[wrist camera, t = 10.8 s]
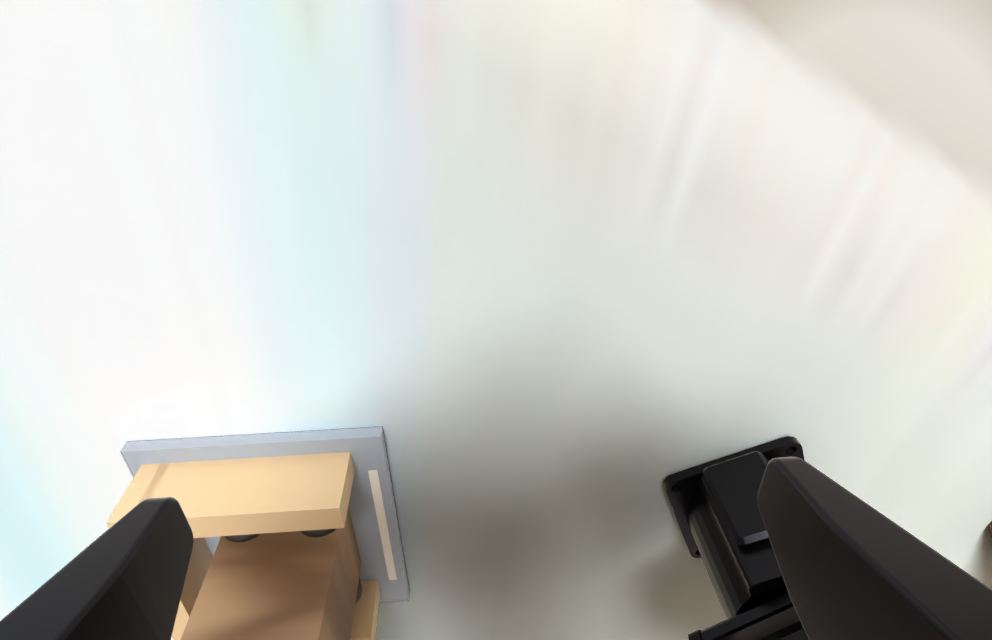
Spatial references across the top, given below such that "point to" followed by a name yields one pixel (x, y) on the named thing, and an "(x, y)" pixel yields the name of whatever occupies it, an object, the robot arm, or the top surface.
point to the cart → (280, 587)
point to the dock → (277, 500)
